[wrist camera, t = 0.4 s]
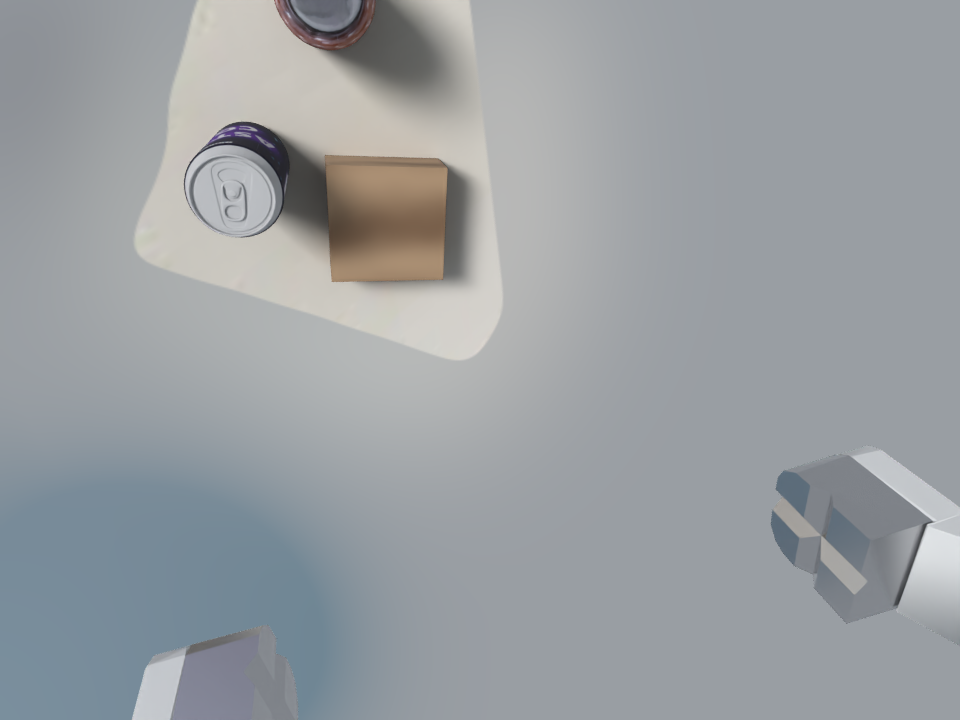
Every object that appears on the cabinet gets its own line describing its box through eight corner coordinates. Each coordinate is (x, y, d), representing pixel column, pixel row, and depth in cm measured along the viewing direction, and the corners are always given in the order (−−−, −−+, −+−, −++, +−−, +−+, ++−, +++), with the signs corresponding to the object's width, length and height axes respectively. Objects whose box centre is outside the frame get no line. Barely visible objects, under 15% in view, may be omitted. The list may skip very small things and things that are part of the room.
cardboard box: (324, 155, 46) (325, 165, 43) (438, 158, 48) (447, 168, 45) (330, 265, 51) (331, 281, 47) (434, 263, 53) (442, 279, 49)
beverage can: (289, 124, 45) (282, 151, 35) (290, 199, 47) (284, 246, 37) (207, 116, 43) (174, 142, 33) (213, 194, 46) (184, 240, 36)
